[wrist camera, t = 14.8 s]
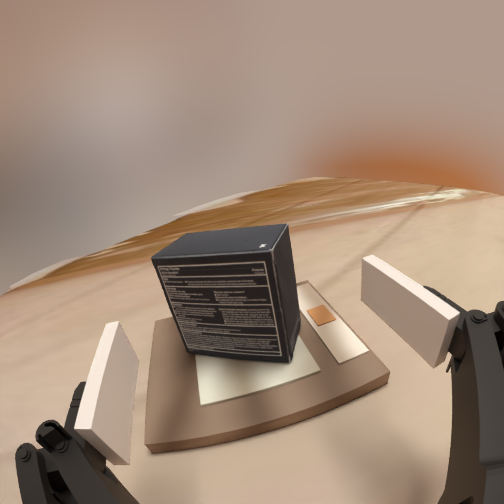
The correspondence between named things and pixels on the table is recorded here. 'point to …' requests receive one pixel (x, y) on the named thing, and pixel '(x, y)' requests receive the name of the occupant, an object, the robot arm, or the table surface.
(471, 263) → the table surface
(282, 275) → the small box
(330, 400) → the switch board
